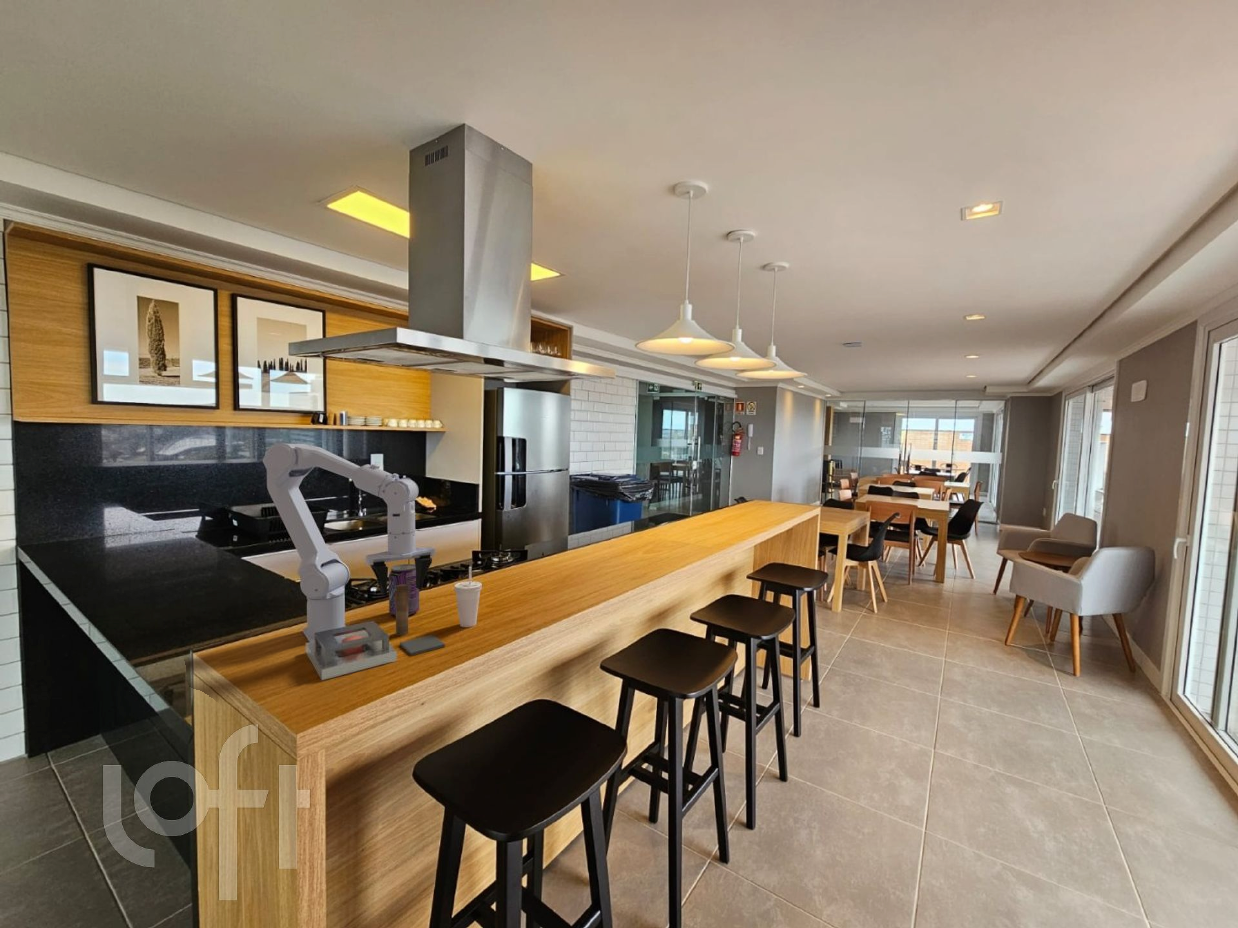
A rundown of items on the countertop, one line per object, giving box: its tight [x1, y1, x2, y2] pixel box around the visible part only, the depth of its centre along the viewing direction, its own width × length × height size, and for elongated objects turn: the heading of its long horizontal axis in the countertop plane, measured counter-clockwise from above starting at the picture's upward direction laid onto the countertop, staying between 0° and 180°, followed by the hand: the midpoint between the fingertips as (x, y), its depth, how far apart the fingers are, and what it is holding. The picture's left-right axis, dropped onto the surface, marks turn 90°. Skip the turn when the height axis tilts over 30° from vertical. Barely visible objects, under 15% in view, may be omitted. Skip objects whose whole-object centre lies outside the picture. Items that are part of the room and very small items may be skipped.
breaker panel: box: [305, 620, 398, 681], centre depth 100 cm, size 16×13×5 cm
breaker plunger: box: [342, 636, 363, 656], centre depth 99 cm, size 4×4×2 cm
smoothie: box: [453, 566, 483, 628], centre depth 119 cm, size 6×6×14 cm
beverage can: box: [388, 563, 420, 617], centre depth 126 cm, size 7×7×12 cm
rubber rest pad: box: [399, 634, 446, 657], centre depth 106 cm, size 7×7×1 cm
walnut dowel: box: [395, 584, 409, 637], centre depth 113 cm, size 3×3×11 cm
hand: (401, 591), depth 113 cm, fingers open, 7 cm apart
